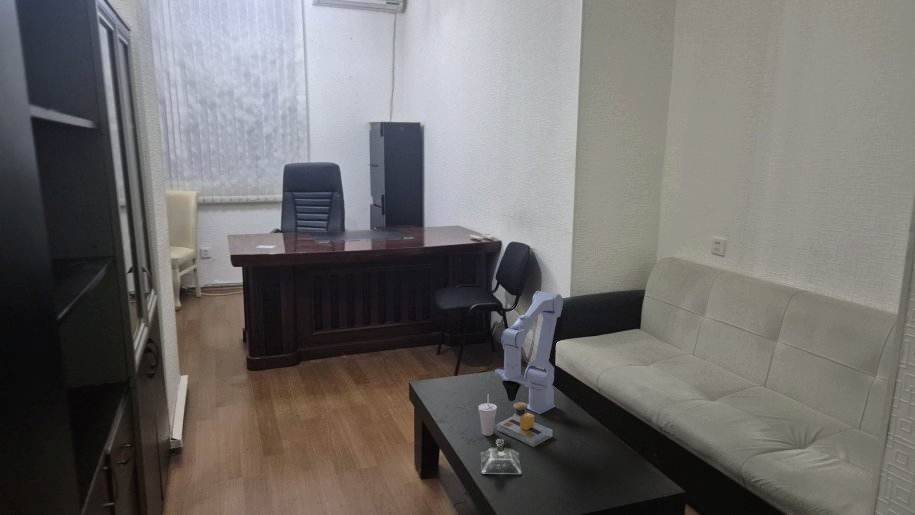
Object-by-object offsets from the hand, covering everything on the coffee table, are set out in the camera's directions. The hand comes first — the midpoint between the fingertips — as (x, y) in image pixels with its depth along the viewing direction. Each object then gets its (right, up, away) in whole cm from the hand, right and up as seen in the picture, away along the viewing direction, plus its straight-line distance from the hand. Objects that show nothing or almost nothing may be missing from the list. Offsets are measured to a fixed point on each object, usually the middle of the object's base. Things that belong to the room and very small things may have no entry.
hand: (511, 400), depth 206 cm
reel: (+4, -9, +10) cm, 14 cm away
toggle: (+5, -8, -3) cm, 10 cm away
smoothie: (-9, -11, -2) cm, 14 cm away
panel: (+4, -11, -2) cm, 12 cm away
